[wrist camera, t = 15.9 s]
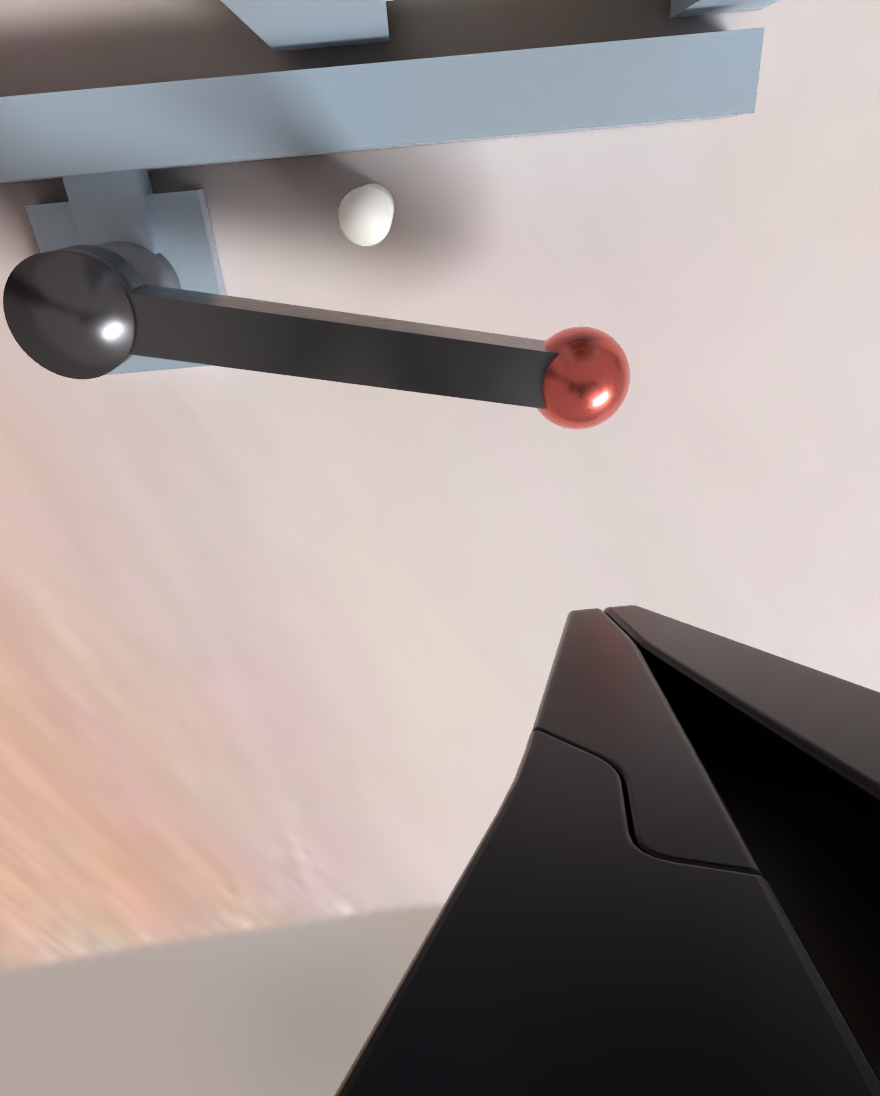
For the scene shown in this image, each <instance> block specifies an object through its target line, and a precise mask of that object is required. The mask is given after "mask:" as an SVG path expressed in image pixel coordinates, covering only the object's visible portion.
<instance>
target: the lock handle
mask: <svg viewBox="0 0 880 1096" xmlns="http://www.w3.org/2000/svg"><path fill="white" fill-rule="evenodd" d="M3 306H4V313H5V318H6V321H7V324H8V326H9V329H10V331H11V333H12V335H13V336H14V338H15V340H16V341H17V343H18V344H19V345H20V347H21V348H22V349H23V350H24V351H25V352H26V353H27V355H28V356H29V357H31V358H32V359H33V360H34V361H35V362H37V363H38V364H39V365H41V366H42V367H44V368H46V369H48V370H49V371H51V372H54V373H56V374H58V375H61V376H65V377H69V378H74V379H91V378H96V377H100V376H102V375H105V374H107V373H109V372H111V371H112V370H114V369H115V368H117V367H118V366H120V365H121V364H122V363H124V362H125V361H127V360H128V359H130V358H131V357H133V356H134V355H137V356H145V357H153V358H160V359H168V360H176V361H183V362H191V363H198V364H206V365H214V366H221V367H229V368H237V369H244V370H252V371H260V372H267V373H275V374H282V375H290V376H298V377H305V378H313V379H321V380H328V381H336V382H344V383H351V384H359V385H367V386H374V387H382V388H389V389H397V390H405V391H412V392H420V393H428V394H435V395H443V396H451V397H458V398H466V399H474V400H481V401H489V402H496V403H504V404H512V405H519V406H527V407H535V408H537V409H538V410H539V411H540V413H541V414H542V415H543V416H544V417H545V418H546V419H548V420H549V421H551V422H552V423H554V424H556V425H558V426H561V427H564V428H569V429H585V428H590V427H593V426H596V425H598V424H600V423H602V422H604V421H605V420H607V419H608V418H610V417H611V416H612V415H613V414H614V413H615V412H616V411H617V410H618V408H619V407H620V406H621V404H622V403H623V401H624V399H625V397H626V394H627V391H628V387H629V382H630V369H629V364H628V360H627V358H626V355H625V353H624V351H623V349H622V348H621V347H620V345H619V344H618V343H617V342H616V341H615V340H614V339H613V338H612V337H611V336H609V335H608V334H606V333H604V332H602V331H600V330H597V329H594V328H590V327H574V328H569V329H566V330H563V331H560V332H558V333H556V334H555V335H553V336H552V337H550V338H549V339H548V340H547V341H543V340H536V339H529V338H522V337H515V336H508V335H501V334H494V333H486V332H479V331H472V330H465V329H458V328H451V327H444V326H437V325H430V324H423V323H416V322H409V321H402V320H395V319H388V318H381V317H374V316H367V315H360V314H353V313H345V312H338V311H331V310H324V309H317V308H310V307H303V306H296V305H289V304H282V303H275V302H268V301H261V300H254V299H247V298H240V297H233V296H226V295H219V294H211V293H204V292H197V291H190V290H183V289H176V288H169V287H162V286H155V285H148V284H147V283H146V281H145V280H144V278H143V276H142V275H141V274H140V273H139V271H138V270H137V269H136V268H135V267H134V266H133V265H132V264H131V263H130V262H129V261H127V260H126V259H125V258H123V257H122V256H120V255H119V254H117V253H115V252H113V251H111V250H109V249H106V248H103V247H100V246H95V245H86V244H85V245H75V246H70V247H66V248H61V249H57V250H52V251H48V252H44V253H39V254H36V255H33V256H30V257H28V258H27V259H25V260H23V261H22V262H21V263H19V264H18V265H17V266H16V267H15V268H14V270H13V271H12V272H11V274H10V276H9V277H8V280H7V282H6V285H5V289H4V296H3Z"/></svg>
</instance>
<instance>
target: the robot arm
mask: <svg viewBox="0 0 880 1096" xmlns="http://www.w3.org/2000/svg"><path fill="white" fill-rule="evenodd" d="M334 1096H880V692H877V691H874V690H871V689H868V688H865V687H863V686H860V685H857V684H854V683H851V682H849V681H846V680H843V679H840V678H837V677H835V676H832V675H829V674H826V673H823V672H821V671H818V670H815V669H812V668H809V667H807V666H804V665H801V664H798V663H795V662H793V661H790V660H787V659H784V658H781V657H779V656H776V655H773V654H770V653H767V652H765V651H762V650H759V649H756V648H753V647H751V646H748V645H745V644H742V643H739V642H736V641H734V640H731V639H728V638H725V637H722V636H720V635H717V634H714V633H711V632H708V631H706V630H703V629H700V628H697V627H694V626H692V625H689V624H686V623H683V622H680V621H678V620H675V619H672V618H669V617H666V616H664V615H661V614H658V613H655V612H652V611H650V610H647V609H644V608H641V607H638V606H633V605H629V606H618V607H609V608H606V609H605V610H604V611H602V610H600V609H597V608H596V609H585V610H574V611H571V612H570V613H569V614H568V617H567V620H566V623H565V627H564V630H563V633H562V636H561V640H560V643H559V646H558V649H557V652H556V656H555V659H554V662H553V665H552V669H551V672H550V675H549V678H548V681H547V685H546V688H545V691H544V694H543V698H542V701H541V704H540V707H539V711H538V714H537V717H536V720H535V723H534V727H533V730H532V733H531V734H530V737H529V740H528V743H527V746H526V749H525V753H524V755H523V758H522V760H521V763H520V766H519V768H518V771H517V773H516V776H515V779H514V781H513V783H512V785H511V787H510V789H509V791H508V793H507V795H506V797H505V799H504V801H503V803H502V805H501V807H500V809H499V810H498V812H497V814H496V816H495V818H494V820H493V821H492V823H491V825H490V826H489V828H488V830H487V832H486V833H485V835H484V837H483V839H482V840H481V842H480V844H479V846H478V847H477V849H476V851H475V852H474V854H473V856H472V858H471V859H470V861H469V863H468V865H467V866H466V868H465V870H464V872H463V873H462V875H461V877H460V878H459V880H458V882H457V884H456V885H455V887H454V889H453V891H452V892H451V894H450V896H449V898H448V899H447V901H446V903H445V905H444V906H443V908H442V910H441V911H440V913H439V915H438V917H437V918H436V920H435V922H434V924H433V926H432V927H431V929H430V931H429V933H428V934H427V936H426V937H425V939H424V941H423V943H422V944H421V946H420V948H419V950H418V951H417V953H416V955H415V957H414V958H413V960H412V962H411V963H410V965H409V967H408V969H407V971H406V972H405V974H404V976H403V977H402V979H401V981H400V983H399V985H398V986H397V988H396V990H395V991H394V993H393V995H392V997H391V998H390V1000H389V1002H388V1003H387V1005H386V1007H385V1009H384V1010H383V1012H382V1014H381V1016H380V1017H379V1019H378V1021H377V1022H376V1024H375V1026H374V1028H373V1029H372V1031H371V1033H370V1035H369V1037H368V1038H367V1040H366V1042H365V1043H364V1045H363V1047H362V1049H361V1050H360V1052H359V1054H358V1055H357V1057H356V1059H355V1061H354V1062H353V1064H352V1066H351V1068H350V1070H349V1071H348V1073H347V1075H346V1076H345V1078H344V1080H343V1081H342V1083H341V1085H340V1087H339V1088H338V1090H337V1092H336V1094H335V1095H334Z"/></svg>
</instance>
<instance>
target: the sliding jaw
mask: <svg viewBox="0 0 880 1096" xmlns="http://www.w3.org/2000/svg"><path fill="white" fill-rule="evenodd" d="M221 1H222V2H223V3H224V4H225V5H226V6H227V7H228V8H229V9H230V10H231V11H232V12H233V13H234V14H236V15H237V16H238V17H239V18H240V19H241V20H242V21H243V22H244V23H245V24H246V25H247V26H248V27H249V28H250V29H252V30H253V31H254V32H255V33H256V34H257V35H258V36H259V37H260V38H261V39H262V40H263V41H264V42H265V43H266V44H268V45H269V46H270V47H271V48H272V49H273V50H274V51H275V52H280V51H291V50H302V49H313V48H324V47H335V46H346V45H357V44H368V43H379V42H390V41H389V30H388V19H387V9H386V1H392V0H221Z"/></svg>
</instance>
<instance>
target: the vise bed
mask: <svg viewBox="0 0 880 1096" xmlns="http://www.w3.org/2000/svg"><path fill="white" fill-rule="evenodd" d="M778 1H780V0H671V3H670V18H676V17H687V16H698V15H709V14H720V13H731V12H742V11H753V10H760V9H762V8H765V7H767V6H769V5H771V4H773V3H776V2H778ZM763 34H764V27H763V28H752V29H741V30H730V31H719V32H708V33H697V34H686V35H676V36H665V37H654V38H643V39H632V40H621V41H610V42H599V43H588V44H577V45H566V46H555V47H544V48H533V49H522V50H511V51H500V52H489V53H478V54H467V55H456V56H445V57H434V58H423V59H412V60H401V61H390V62H379V63H368V64H357V65H346V66H335V67H324V68H313V69H302V70H291V71H280V72H269V73H258V74H247V75H236V76H225V77H214V78H203V79H192V80H181V81H170V82H159V83H148V84H137V85H126V86H115V87H104V88H93V89H82V90H71V91H60V92H49V93H38V94H27V95H16V96H5V97H0V184H1V183H12V182H23V181H34V180H45V179H56V178H62V180H63V183H64V187H65V190H66V193H67V196H68V200H69V202H59V203H48V204H37V205H26V206H25V208H26V211H27V215H28V218H29V221H30V224H31V227H32V230H33V233H34V236H35V239H36V242H37V245H38V248H39V251H40V253H44V252H48V251H52V250H57V249H61V248H66V247H70V246H75V245H85V244H86V245H95V246H100V247H103V248H106V249H109V250H111V251H113V252H115V253H117V254H119V255H120V256H122V257H123V258H125V259H126V260H127V261H129V262H130V263H131V264H132V265H133V266H134V267H135V268H136V269H137V270H138V271H139V273H140V274H141V275H142V276H143V278H144V280H145V281H146V283H147V284H148V285H155V286H162V287H169V288H176V289H183V290H190V291H197V292H204V293H211V294H219V295H226V291H225V287H224V282H223V277H222V273H221V268H220V263H219V259H218V254H217V249H216V245H215V240H214V236H213V231H212V226H211V222H210V217H209V212H208V208H207V203H206V199H205V194H204V189H201V190H190V191H179V192H168V193H157V194H153V190H152V186H151V182H150V178H149V174H148V170H155V169H166V168H177V167H188V166H199V165H209V164H220V163H231V162H242V161H253V160H264V159H275V158H286V157H297V156H308V155H319V154H330V153H341V152H352V151H363V150H374V149H385V148H396V147H407V146H417V145H428V144H439V143H450V142H461V141H472V140H483V139H494V138H505V137H516V136H527V135H538V134H549V133H560V132H571V131H582V130H593V129H604V128H615V127H626V126H636V125H647V124H658V123H669V122H680V121H691V120H702V119H713V118H724V117H731V116H737V115H743V114H749V113H754V112H755V103H756V95H757V86H758V77H759V69H760V60H761V51H762V43H763ZM393 214H394V200H393V198H392V195H391V194H390V192H389V191H388V190H387V189H386V188H385V187H383V186H382V185H379V184H375V183H371V184H367V185H364V186H361V187H358V188H355V189H353V190H351V191H350V192H348V193H347V194H346V195H345V196H344V198H343V199H342V201H341V203H340V206H339V210H338V220H339V225H340V227H341V230H342V232H343V233H344V235H345V236H346V237H347V238H348V239H349V240H350V241H352V242H353V243H355V244H358V245H361V246H372V245H375V244H377V243H379V242H380V241H382V240H383V239H384V238H385V237H386V235H387V234H388V232H389V230H390V227H391V223H392V218H393ZM198 366H209V365H206V364H198V363H191V362H183V361H176V360H168V359H160V358H153V357H145V356H137V355H134V356H133V357H131V358H130V359H128V360H127V361H125V362H124V363H122V364H121V365H120V366H118V367H117V368H115V369H114V370H112V371H111V372H109V373H107V374H105V375H111V374H122V373H133V372H144V371H155V370H165V369H176V368H187V367H198Z"/></svg>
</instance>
